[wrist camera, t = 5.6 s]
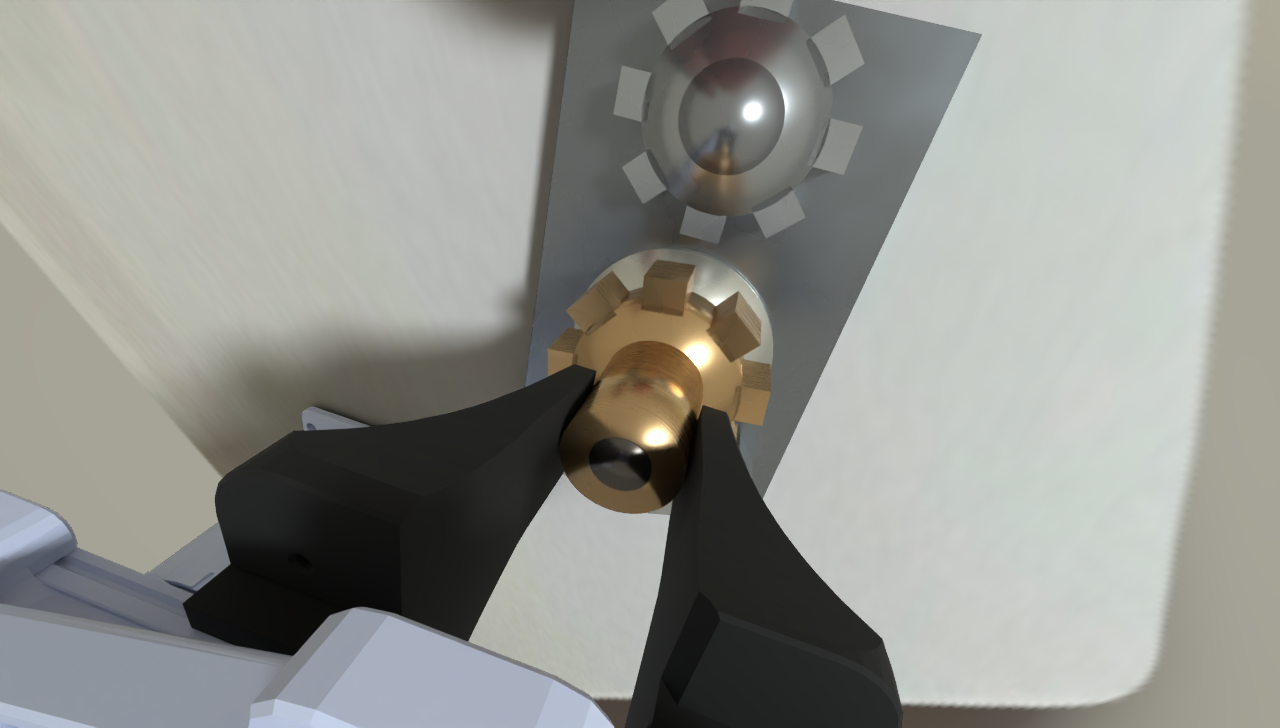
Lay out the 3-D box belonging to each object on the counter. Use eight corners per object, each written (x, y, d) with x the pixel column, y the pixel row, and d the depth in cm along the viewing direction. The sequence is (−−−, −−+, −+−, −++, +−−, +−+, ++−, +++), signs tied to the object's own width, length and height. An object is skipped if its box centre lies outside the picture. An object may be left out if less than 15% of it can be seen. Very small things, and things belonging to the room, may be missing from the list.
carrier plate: (755, 497, 20) (754, 520, 19) (529, 422, 21) (515, 439, 20) (965, 41, 12) (987, 32, 11) (594, -45, 13) (578, -61, 12)
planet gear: (746, 461, 16) (737, 596, 11) (566, 423, 17) (495, 532, 12) (791, 279, 13) (803, 366, 8) (569, 245, 14) (476, 307, 9)
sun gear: (801, 256, 14) (808, 279, 12) (610, 202, 15) (585, 215, 13) (896, 14, 11) (928, -12, 9) (657, -40, 12) (633, -78, 10)
